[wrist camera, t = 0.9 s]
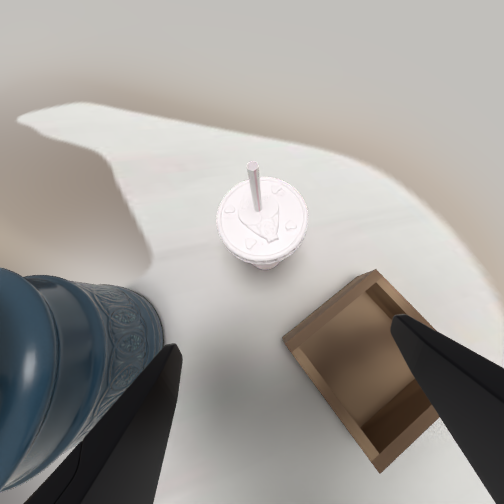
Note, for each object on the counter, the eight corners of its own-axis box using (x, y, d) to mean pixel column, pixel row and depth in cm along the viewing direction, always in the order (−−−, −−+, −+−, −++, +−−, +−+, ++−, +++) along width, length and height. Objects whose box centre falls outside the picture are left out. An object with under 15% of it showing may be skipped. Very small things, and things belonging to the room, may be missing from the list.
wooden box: (438, 363, 19) (481, 376, 15) (356, 438, 18) (379, 474, 14) (357, 276, 21) (375, 269, 18) (282, 337, 20) (284, 343, 17)
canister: (156, 272, 24) (-133, 176, 7) (177, 397, 20) (-360, 897, 3) (50, 306, 24) (-507, 297, 7) (50, 438, 20) (-1207, 1166, 3)
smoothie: (278, 219, 24) (288, 103, 11) (304, 267, 22) (354, 202, 9) (229, 240, 24) (175, 151, 10) (250, 291, 22) (218, 262, 9)
